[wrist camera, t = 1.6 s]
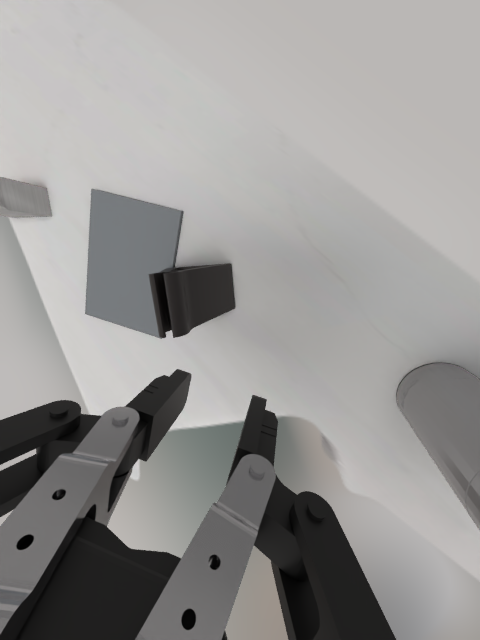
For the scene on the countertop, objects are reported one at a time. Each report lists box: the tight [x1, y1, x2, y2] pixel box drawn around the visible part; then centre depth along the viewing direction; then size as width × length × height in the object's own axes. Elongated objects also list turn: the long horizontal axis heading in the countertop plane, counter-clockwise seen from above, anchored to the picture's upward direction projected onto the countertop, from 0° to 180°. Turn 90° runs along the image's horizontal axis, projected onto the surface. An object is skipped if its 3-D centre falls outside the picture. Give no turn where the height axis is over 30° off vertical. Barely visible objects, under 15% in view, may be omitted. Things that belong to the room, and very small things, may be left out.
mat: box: [85, 189, 183, 339], centre depth 36 cm, size 13×18×1 cm
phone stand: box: [149, 264, 235, 338], centre depth 29 cm, size 9×6×12 cm, turn 94°
